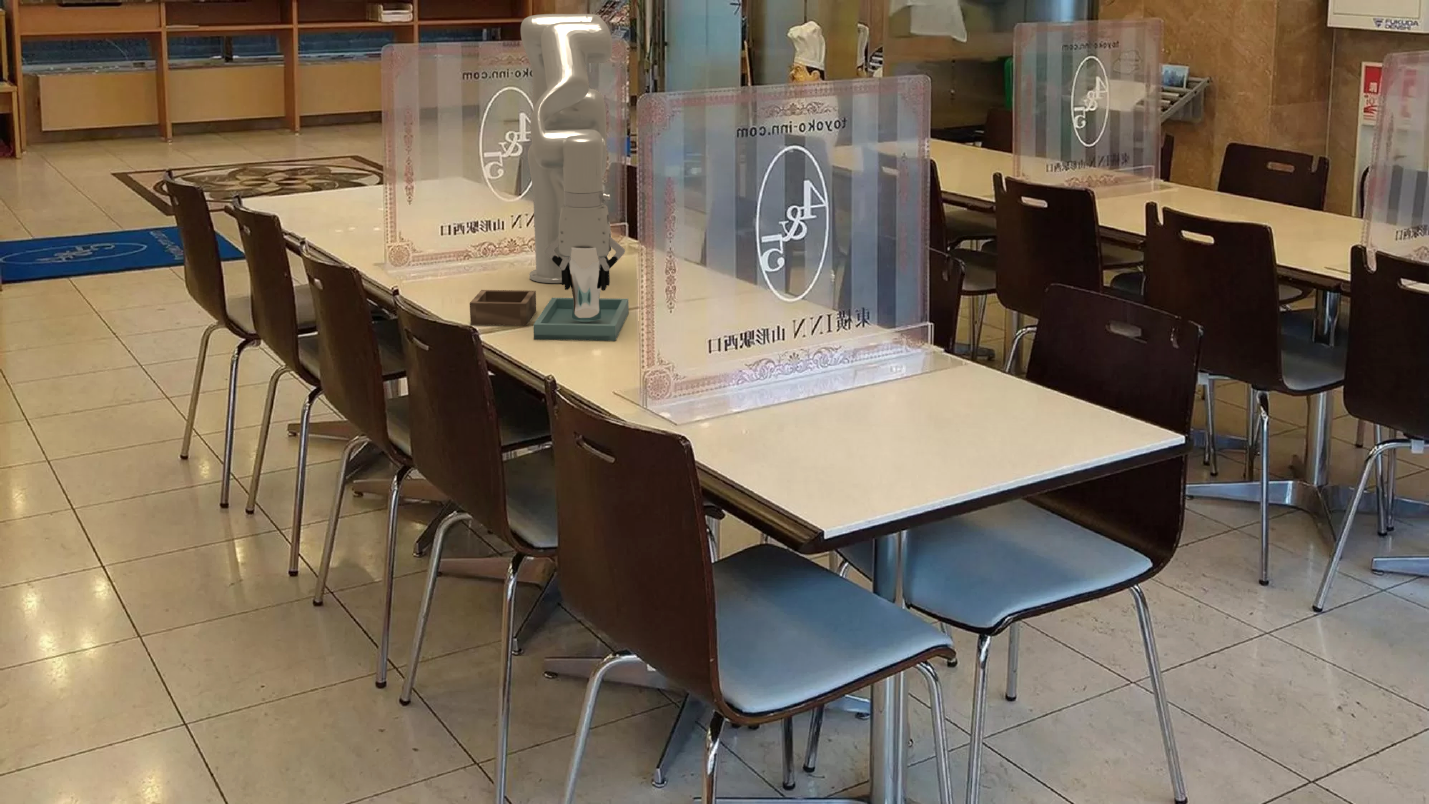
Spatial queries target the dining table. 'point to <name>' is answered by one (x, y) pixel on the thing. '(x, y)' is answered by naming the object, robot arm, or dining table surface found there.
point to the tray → (562, 327)
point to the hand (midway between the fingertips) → (585, 288)
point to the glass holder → (503, 307)
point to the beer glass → (585, 284)
